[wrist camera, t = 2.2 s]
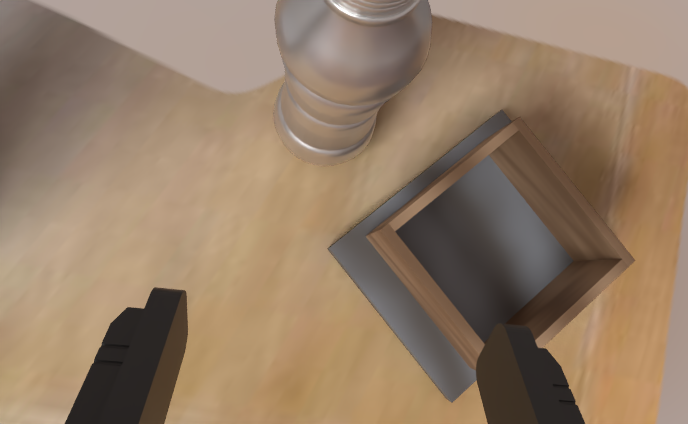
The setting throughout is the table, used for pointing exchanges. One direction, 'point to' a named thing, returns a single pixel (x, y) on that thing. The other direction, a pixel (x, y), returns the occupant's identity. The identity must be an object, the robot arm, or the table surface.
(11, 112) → the table surface
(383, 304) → the bottle holder
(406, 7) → the metal bottle
